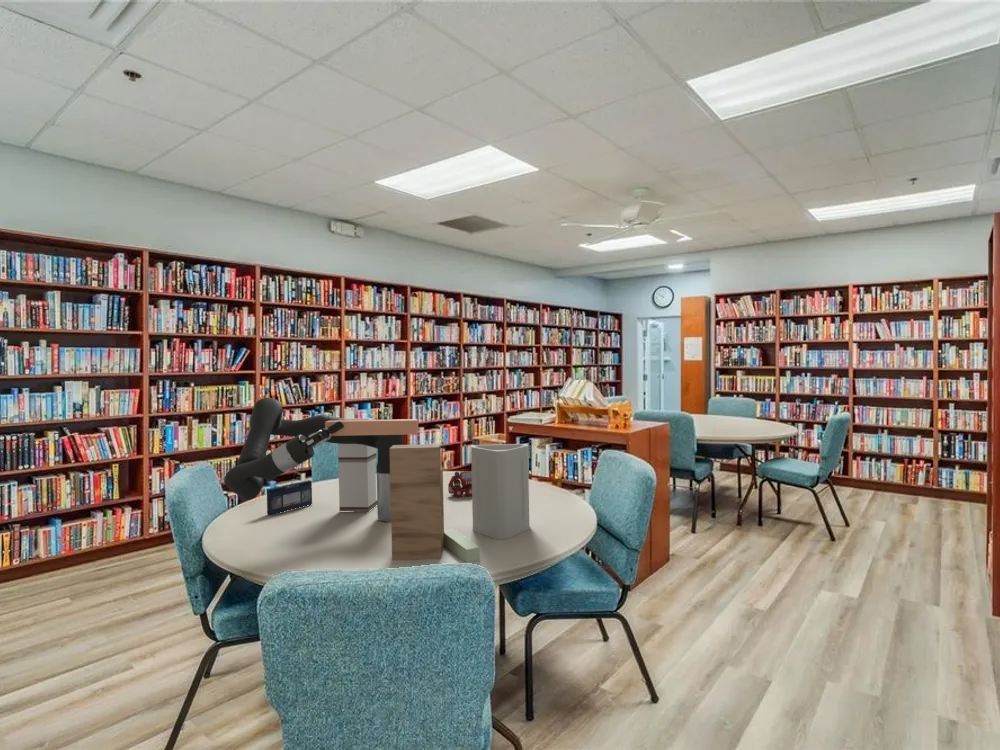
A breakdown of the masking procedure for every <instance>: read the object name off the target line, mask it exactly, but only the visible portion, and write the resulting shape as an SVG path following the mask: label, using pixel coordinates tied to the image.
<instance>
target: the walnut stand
mask: <svg viewBox="0 0 1000 750" xmlns="http://www.w3.org/2000/svg"><path fill="white" fill-rule="evenodd" d="M441 446H442V445H441V443H434V444H429V443H426V444H425V443H424V444H403V445H393V446H392V447H390V490H391V521H390V523H391V524H390V526H391V528H390V531H391V532H390V533H391V560H393V561H394V560H395V561H399V560H402V561H403V560H404V561H405V560H431V559H432V560H435V559H437V560H438V559H442V556H443V552H444V548H445V545H444V530H445V518H444V516H445V512H444V510H445V509H444V469H443V468H444V467H442V460H441V459H442V458H441V457H442V455H441V454H442V453H441V449H442V448H441Z"/></svg>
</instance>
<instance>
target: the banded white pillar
mask: <svg viewBox="0 0 1000 750" xmlns="http://www.w3.org/2000/svg"><path fill="white" fill-rule="evenodd" d="M346 419H347V420H377V419H376V418H371V417H370V418H369V417H368V418H366V417H364V418H358V417H357V418H356V417H354V418H352V417H351V418H346ZM337 460H338V461H337V462H338V493H339V494H338V496H339V497H338V501H339V502H338V506H339V512H340V511H354V512H353V513H365V512H368V513H370V512H371V511H372V510H373V509H375V508H376V507H377V506H376V505H377V469H376V466H377V463H376V462H377V448H374V447H370V446H366V445H361V444H337ZM375 506H376V507H375ZM374 507H375V508H374ZM372 508H373V509H372ZM371 509H372V510H371ZM370 510H371V511H370ZM369 511H370V512H369Z"/></svg>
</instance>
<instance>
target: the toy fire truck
mask: <svg viewBox="0 0 1000 750" xmlns="http://www.w3.org/2000/svg"><path fill="white" fill-rule="evenodd" d="M447 486H448V489H447V491H448V493H449V494H450V495H452V494H453V495H454V497H456V498H462V496H464V493H465V495H467V497H469V496H471V497H472V470H467V471H461V472H459V471H455V472H454V475H453V476H452V475H451V478H450V480H449V483H448V485H447Z"/></svg>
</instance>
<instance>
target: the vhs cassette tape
mask: <svg viewBox="0 0 1000 750" xmlns="http://www.w3.org/2000/svg"><path fill="white" fill-rule="evenodd" d="M312 483H313V482H312V480H305V481H304V480H303V481H298V482H294V483H290V484H285V485H279V486H276V487H272V488H271V487H270V488H268V489H266V509H267V510H266V513H267V514H268V515H267V516H270V515H272V516H274V515H273V514H276V513H280V512H284V511H287V510H291V509H295V508H299V507H303V506H307V505H311V504H312V505H313V487H312V485H313V484H312ZM312 505H311V506H312ZM307 507H308V506H307ZM303 508H304V507H303ZM284 513H285V512H284ZM280 514H281V513H280ZM276 515H277V514H276Z"/></svg>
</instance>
